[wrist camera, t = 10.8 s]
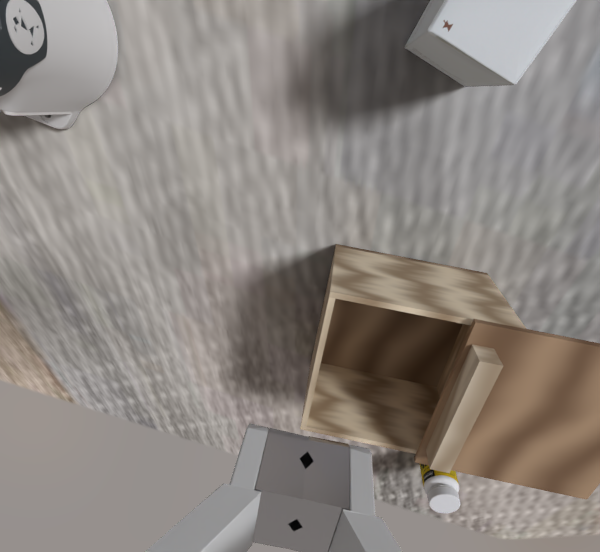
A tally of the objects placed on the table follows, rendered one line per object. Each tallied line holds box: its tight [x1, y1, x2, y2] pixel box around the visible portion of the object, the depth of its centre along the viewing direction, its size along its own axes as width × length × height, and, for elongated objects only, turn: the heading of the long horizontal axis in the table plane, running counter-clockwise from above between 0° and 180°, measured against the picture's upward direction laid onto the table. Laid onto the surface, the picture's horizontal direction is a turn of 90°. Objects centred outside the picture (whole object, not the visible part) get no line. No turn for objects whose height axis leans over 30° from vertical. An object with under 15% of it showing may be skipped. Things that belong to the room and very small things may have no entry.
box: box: [300, 244, 526, 454], centre depth 45 cm, size 18×18×12 cm
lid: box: [414, 319, 600, 499], centre depth 37 cm, size 19×19×3 cm
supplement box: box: [405, 0, 577, 87], centre depth 30 cm, size 7×7×13 cm
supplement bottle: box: [420, 464, 460, 513], centre depth 55 cm, size 5×5×8 cm
